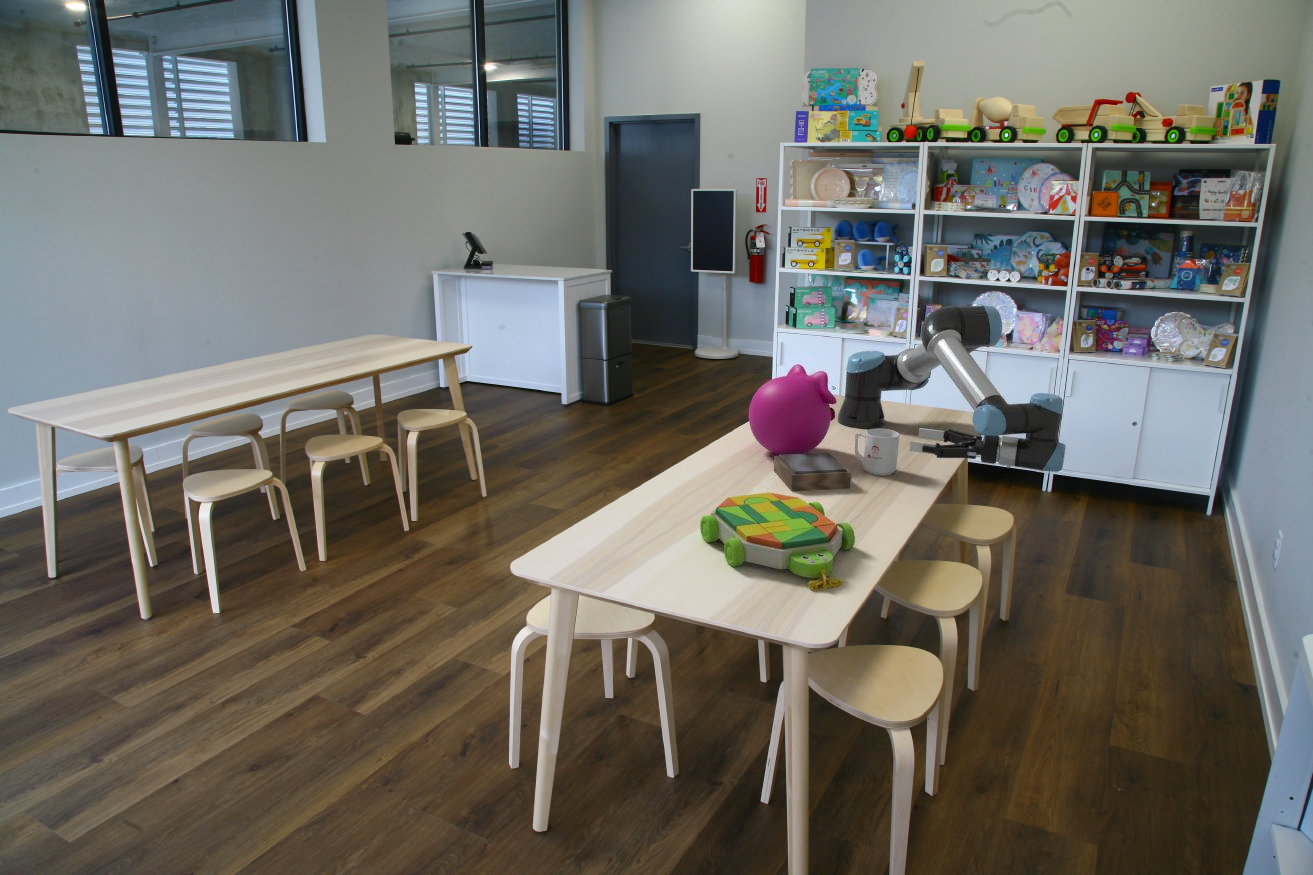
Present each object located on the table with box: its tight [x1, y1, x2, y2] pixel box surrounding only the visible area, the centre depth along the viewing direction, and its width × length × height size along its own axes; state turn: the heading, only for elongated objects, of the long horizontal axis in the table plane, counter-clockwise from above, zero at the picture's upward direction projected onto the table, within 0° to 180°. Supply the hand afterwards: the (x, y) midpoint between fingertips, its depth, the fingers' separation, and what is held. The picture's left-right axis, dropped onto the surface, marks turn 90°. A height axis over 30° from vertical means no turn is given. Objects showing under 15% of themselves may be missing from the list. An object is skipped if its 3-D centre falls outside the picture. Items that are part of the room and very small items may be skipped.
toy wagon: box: [699, 492, 856, 592], centre depth 184 cm, size 29×38×7 cm
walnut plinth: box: [773, 452, 852, 492], centre depth 229 cm, size 16×16×5 cm
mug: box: [854, 428, 900, 477], centre depth 235 cm, size 12×9×11 cm
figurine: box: [748, 363, 838, 455], centre depth 247 cm, size 23×24×25 cm
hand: (914, 439), depth 229 cm, fingers open, 13 cm apart
